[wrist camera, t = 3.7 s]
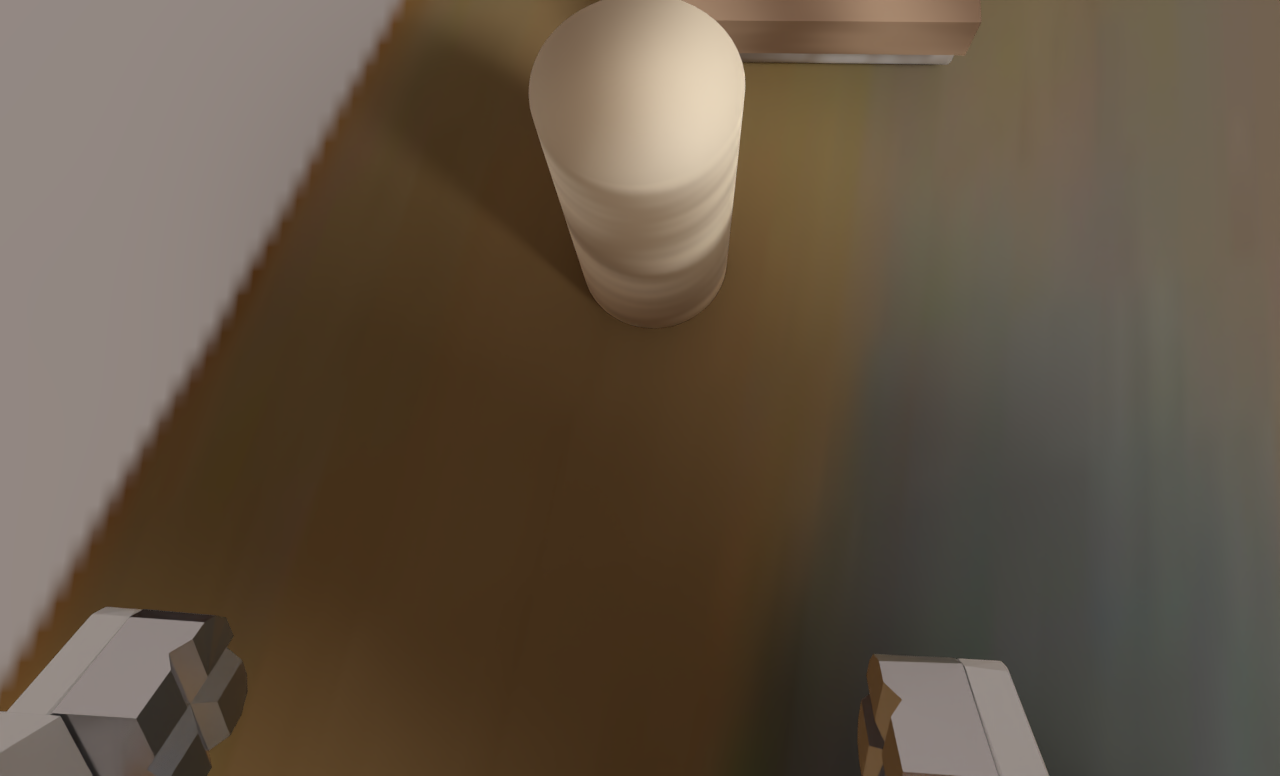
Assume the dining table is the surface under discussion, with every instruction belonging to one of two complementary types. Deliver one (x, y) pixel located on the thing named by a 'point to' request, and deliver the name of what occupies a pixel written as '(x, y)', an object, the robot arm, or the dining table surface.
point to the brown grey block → (847, 29)
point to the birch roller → (643, 151)
